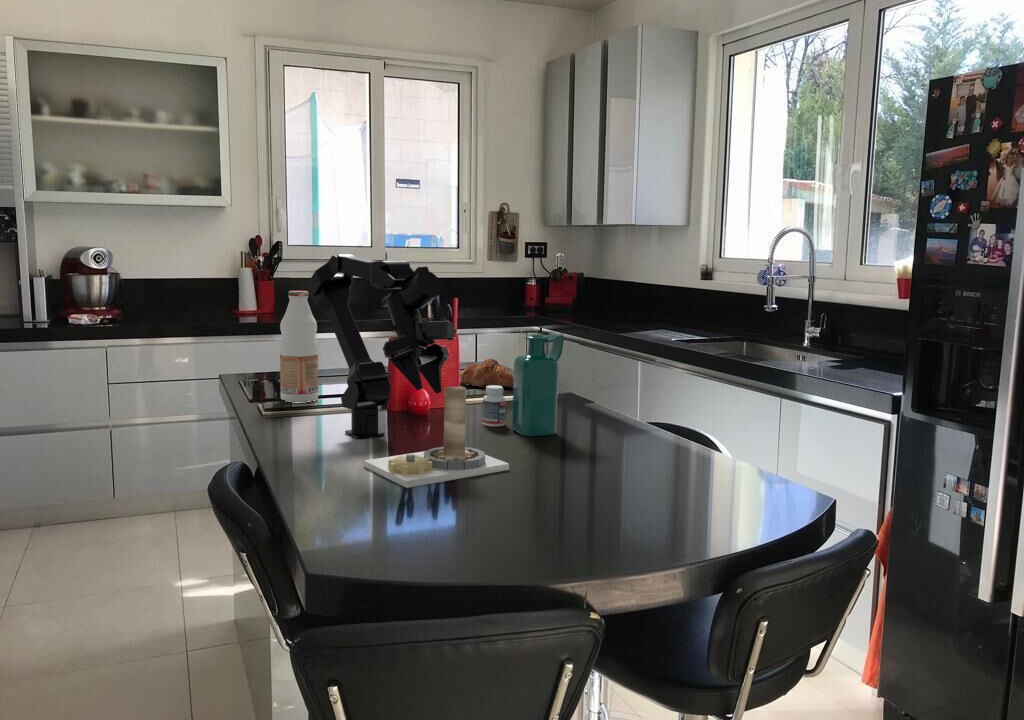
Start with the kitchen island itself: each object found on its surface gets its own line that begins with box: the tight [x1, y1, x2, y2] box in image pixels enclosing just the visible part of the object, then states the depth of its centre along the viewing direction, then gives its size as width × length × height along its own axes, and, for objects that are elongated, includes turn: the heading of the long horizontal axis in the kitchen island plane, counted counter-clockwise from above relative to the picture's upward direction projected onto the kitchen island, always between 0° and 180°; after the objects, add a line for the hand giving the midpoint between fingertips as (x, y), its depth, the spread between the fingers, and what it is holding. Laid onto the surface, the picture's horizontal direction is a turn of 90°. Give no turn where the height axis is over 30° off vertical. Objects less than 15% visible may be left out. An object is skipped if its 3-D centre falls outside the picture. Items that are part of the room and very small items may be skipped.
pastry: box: [459, 358, 514, 387], centre depth 253 cm, size 17×15×8 cm
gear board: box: [363, 446, 510, 489], centre depth 164 cm, size 16×22×4 cm
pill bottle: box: [482, 385, 507, 428], centre depth 202 cm, size 5×5×9 cm
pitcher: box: [511, 332, 565, 437], centre depth 195 cm, size 10×8×22 cm
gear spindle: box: [434, 386, 474, 460], centre depth 164 cm, size 8×8×14 cm
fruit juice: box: [279, 290, 319, 402], centre depth 223 cm, size 9×9×28 cm
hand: (429, 391), depth 172 cm, fingers open, 9 cm apart
